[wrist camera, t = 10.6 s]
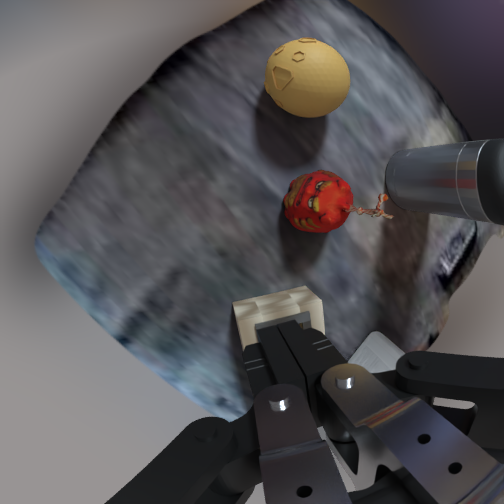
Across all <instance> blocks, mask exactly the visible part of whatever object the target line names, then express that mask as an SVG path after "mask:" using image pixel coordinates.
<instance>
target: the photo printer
mask: <svg viewBox="0 0 504 504" xmlns="http://www.w3.org/2000/svg"><path fill="white" fill-rule="evenodd" d="M404 354H405V353H404V352H403V351H402V350H401V349H400V348H398V347H397V346H396V345H395V344H394V343H393V342H391V341H390V340H389V339H388V338H387V337H385V336H384V335H383V334H382V333H380V332H378V331H375V332H371V333H370V334H369V335H368V337H367V338H366V339H365V340H364V342H363V343H362V344H361V345H360V347H359V348H358V349H357V350H356V352H355V353H354V354H353V356H352V357H351V358H350V359H349V361H348V363H350V364H357V365H360V366H362V367H364V368H365V369H366V370H368V371H369V372H370V373H379V372H385V371H390V370H395V369H396V362H397V360H398V359H399V358H400V357H401V356H403V355H404Z"/></svg>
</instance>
